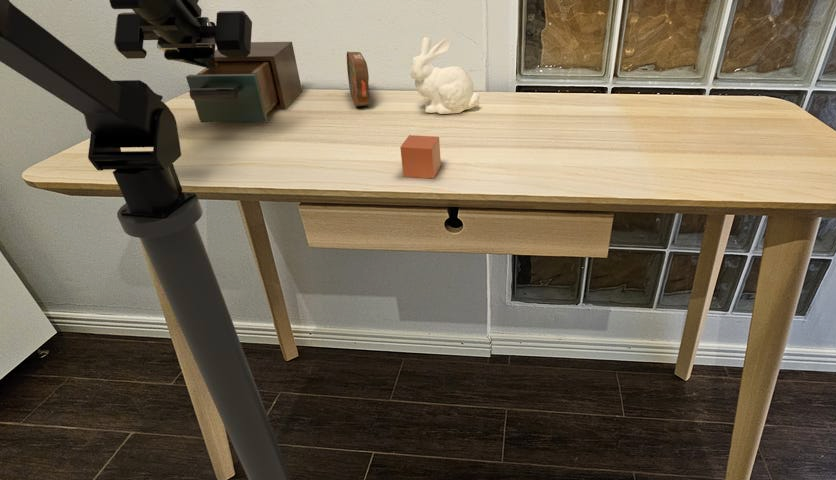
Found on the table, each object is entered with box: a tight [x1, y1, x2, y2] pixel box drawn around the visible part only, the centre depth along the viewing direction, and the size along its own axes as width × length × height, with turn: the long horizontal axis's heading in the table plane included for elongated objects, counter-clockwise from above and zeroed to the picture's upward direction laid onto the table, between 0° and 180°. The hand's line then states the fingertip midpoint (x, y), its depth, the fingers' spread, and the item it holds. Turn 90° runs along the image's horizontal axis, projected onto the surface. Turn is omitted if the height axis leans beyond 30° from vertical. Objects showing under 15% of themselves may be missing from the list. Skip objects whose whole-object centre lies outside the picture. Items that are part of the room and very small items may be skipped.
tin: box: [346, 51, 371, 108], centre depth 103 cm, size 15×3×8 cm, turn 17°
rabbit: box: [410, 36, 480, 115], centre depth 97 cm, size 12×9×12 cm
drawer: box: [185, 61, 279, 123], centre depth 93 cm, size 15×11×8 cm
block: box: [399, 134, 442, 179], centre depth 76 cm, size 4×4×4 cm
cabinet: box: [214, 41, 303, 111], centre depth 103 cm, size 12×13×10 cm
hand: (213, 65), depth 86 cm, fingers closed
